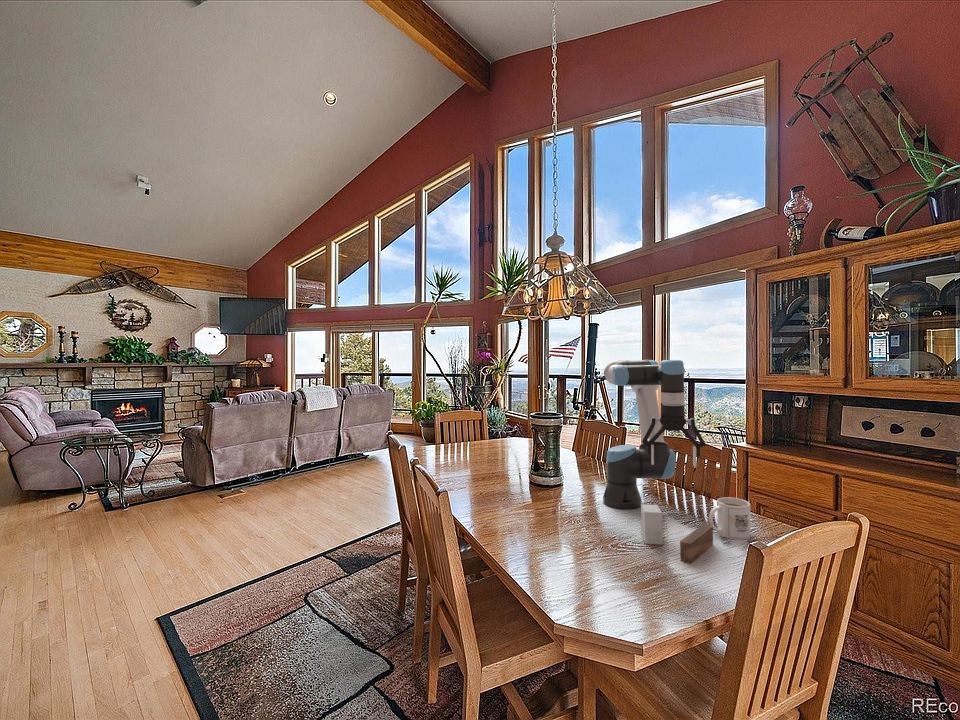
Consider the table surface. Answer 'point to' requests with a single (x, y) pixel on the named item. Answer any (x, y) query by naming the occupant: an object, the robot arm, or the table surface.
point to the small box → (651, 524)
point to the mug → (732, 518)
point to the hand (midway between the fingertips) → (673, 464)
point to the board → (696, 543)
